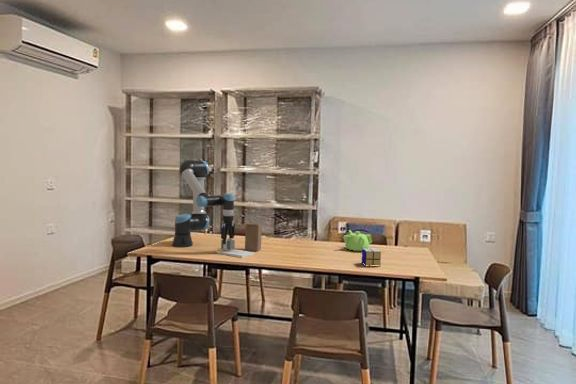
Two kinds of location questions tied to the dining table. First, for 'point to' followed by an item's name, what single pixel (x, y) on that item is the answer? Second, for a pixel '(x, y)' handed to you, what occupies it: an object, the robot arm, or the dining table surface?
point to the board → (235, 253)
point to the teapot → (357, 241)
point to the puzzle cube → (371, 256)
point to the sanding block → (229, 244)
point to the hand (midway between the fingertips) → (227, 247)
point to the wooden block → (253, 236)
